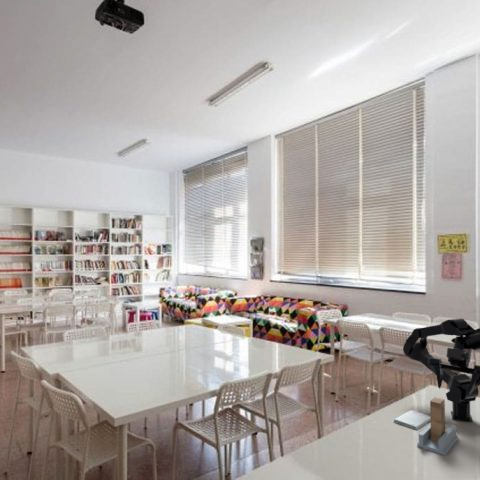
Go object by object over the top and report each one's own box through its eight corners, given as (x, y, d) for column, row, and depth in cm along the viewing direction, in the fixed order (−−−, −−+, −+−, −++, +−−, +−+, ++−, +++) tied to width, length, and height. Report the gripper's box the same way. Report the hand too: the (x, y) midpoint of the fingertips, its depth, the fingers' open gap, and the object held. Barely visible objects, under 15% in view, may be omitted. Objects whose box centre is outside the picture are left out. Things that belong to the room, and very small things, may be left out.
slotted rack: (432, 431, 136) (432, 419, 136) (458, 438, 130) (457, 426, 130) (417, 446, 126) (417, 433, 126) (444, 455, 120) (444, 441, 120)
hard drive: (416, 426, 137) (432, 416, 145) (393, 419, 143) (410, 409, 151) (416, 431, 137) (432, 420, 145) (393, 423, 143) (410, 413, 151)
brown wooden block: (435, 435, 131) (434, 396, 131) (445, 438, 129) (444, 399, 129) (430, 440, 127) (430, 400, 128) (441, 443, 125) (440, 403, 126)
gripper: (428, 335, 146) (418, 372, 138) (487, 342, 134) (480, 384, 125) (436, 352, 152) (427, 389, 144) (493, 361, 139) (486, 402, 131)
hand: (453, 391), depth 136 cm, fingers open, 9 cm apart
